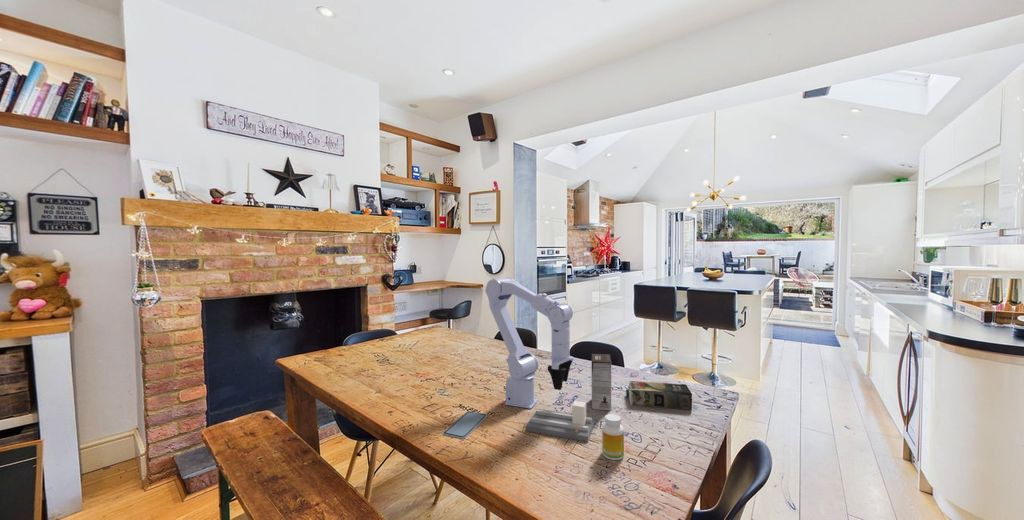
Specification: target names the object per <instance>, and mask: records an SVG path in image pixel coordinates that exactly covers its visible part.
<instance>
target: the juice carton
mask: <svg viewBox="0 0 1024 520" xmlns="http://www.w3.org/2000/svg"><path fill="white" fill-rule="evenodd" d="M625 395H626V397H627V398H628V400H629V403H630V404H629V405H630V406H639V407H650V408H651V407H652V408H660V409H661V408H663V409H671V410H673V409H675V410H683V411H692V409H693V393H692V392H691V390H690V388H689V386H688V385H687V384H686V383H680V384H679V383H667V382H666V383H665V382H652V381H637V380H629V381H628V389H626V390H625Z"/></svg>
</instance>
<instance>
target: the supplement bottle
mask: <svg viewBox="0 0 1024 520" xmlns="http://www.w3.org/2000/svg"><path fill="white" fill-rule="evenodd" d="M624 429H625V428H624V427H623V425H622V417H621V416H620V415H618V414H614V413H608V414H606V415H605V416H604V423H603V424H602V427H601V434H602V435H601V453H602V455H603V456H604V457H605V458H607V459H609V460H612V461H619V460H622V459H623V458H625V457H624V456H625V430H624Z"/></svg>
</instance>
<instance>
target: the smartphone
mask: <svg viewBox="0 0 1024 520" xmlns="http://www.w3.org/2000/svg"><path fill="white" fill-rule="evenodd" d="M487 417H488V416H487V414H486V413H482V412H475V411H470V410H469V411H466V412H465V413H463V415H461V416H460V417H459V418H458V419H457V420H455V421H454V423H452V424H451V425H450V426H449V427H447V428H446V430H444V431H443V432H442V434H443V436H446V437H452V438H455V439H460V440H463V439H466V438H467V437H468V436H470V435H471V434H472V432H474V431H475V430H476V429H477V428H478V427H479V426H480V425H481V424H482V423H483V422H484V421H485V420H486V419H487Z"/></svg>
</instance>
